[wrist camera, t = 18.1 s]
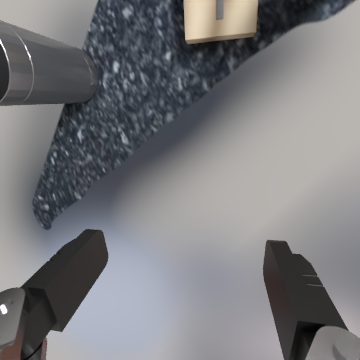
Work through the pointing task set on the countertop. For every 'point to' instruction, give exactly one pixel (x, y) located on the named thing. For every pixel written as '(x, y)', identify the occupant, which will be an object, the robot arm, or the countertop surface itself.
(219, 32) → the fader console
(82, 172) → the countertop surface
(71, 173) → the countertop surface
